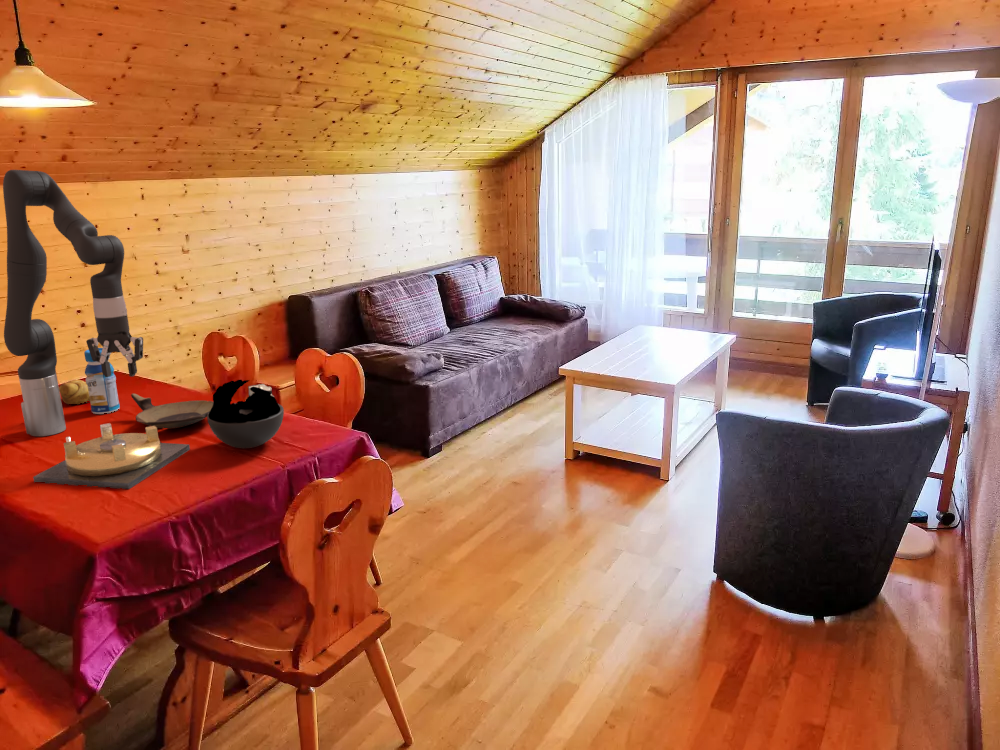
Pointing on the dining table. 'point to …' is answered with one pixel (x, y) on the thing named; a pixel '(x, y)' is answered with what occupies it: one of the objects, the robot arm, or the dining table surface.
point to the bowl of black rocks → (244, 416)
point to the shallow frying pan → (171, 412)
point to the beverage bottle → (100, 387)
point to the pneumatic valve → (261, 388)
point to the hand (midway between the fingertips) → (120, 375)
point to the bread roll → (74, 392)
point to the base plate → (118, 480)
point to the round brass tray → (112, 452)
